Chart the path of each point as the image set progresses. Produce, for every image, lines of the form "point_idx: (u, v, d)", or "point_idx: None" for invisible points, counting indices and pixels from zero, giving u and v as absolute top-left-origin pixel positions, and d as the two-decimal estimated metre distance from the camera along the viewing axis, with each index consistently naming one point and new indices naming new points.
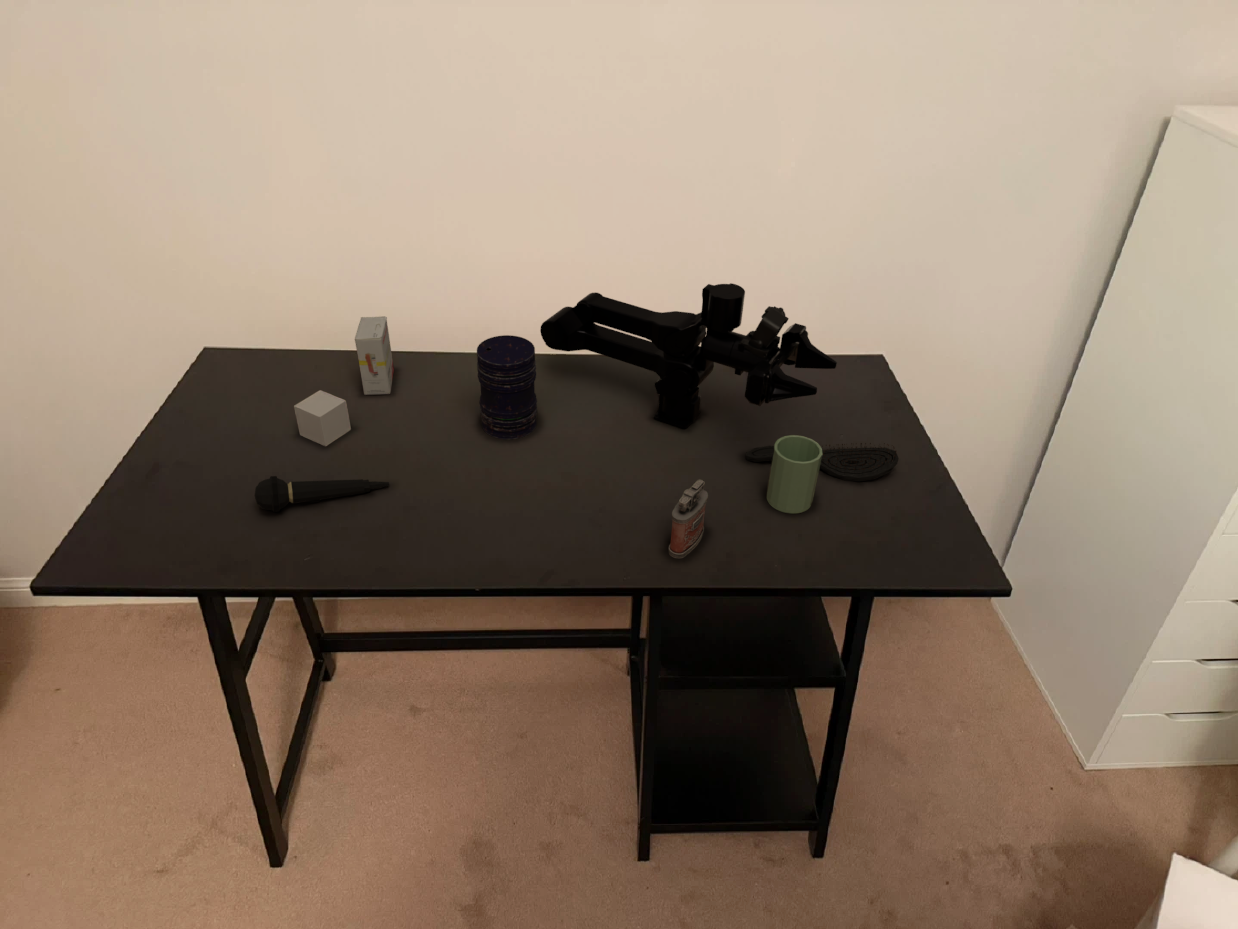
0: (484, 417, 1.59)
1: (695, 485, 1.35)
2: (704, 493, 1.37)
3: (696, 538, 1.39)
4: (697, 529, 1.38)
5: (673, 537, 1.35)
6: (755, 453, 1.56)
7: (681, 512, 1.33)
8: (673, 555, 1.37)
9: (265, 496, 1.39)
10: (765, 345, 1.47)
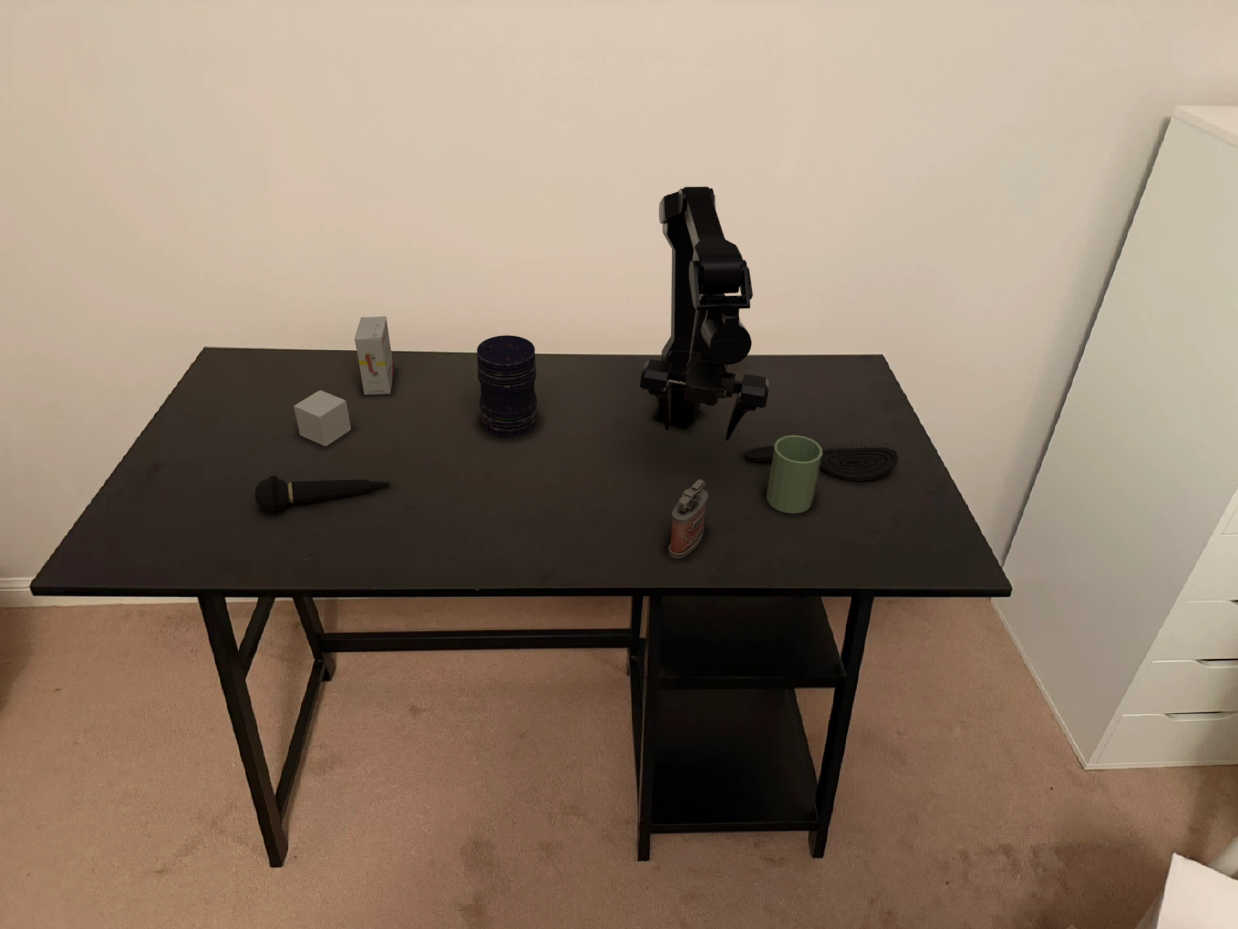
0: (484, 417, 1.59)
1: (695, 485, 1.35)
2: (704, 493, 1.37)
3: (696, 538, 1.39)
4: (697, 529, 1.38)
5: (673, 537, 1.35)
6: (755, 453, 1.56)
7: (681, 512, 1.33)
8: (673, 555, 1.37)
9: (265, 496, 1.39)
10: None
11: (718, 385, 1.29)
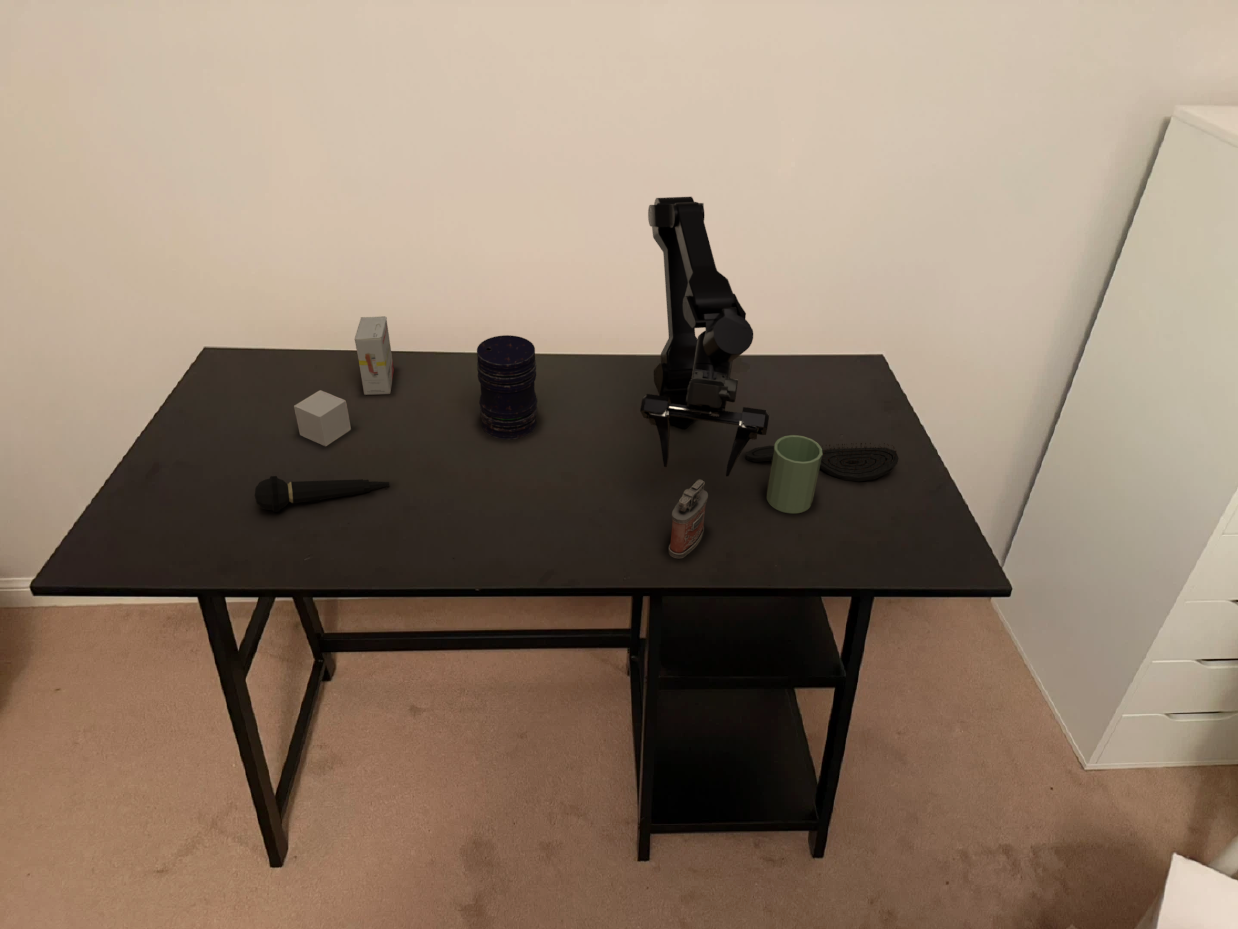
0: (484, 417, 1.59)
1: (695, 485, 1.35)
2: (704, 493, 1.37)
3: (696, 538, 1.39)
4: (697, 529, 1.38)
5: (673, 537, 1.35)
6: (755, 453, 1.56)
7: (681, 512, 1.33)
8: (673, 555, 1.37)
9: (265, 496, 1.39)
10: None
11: (721, 385, 1.30)
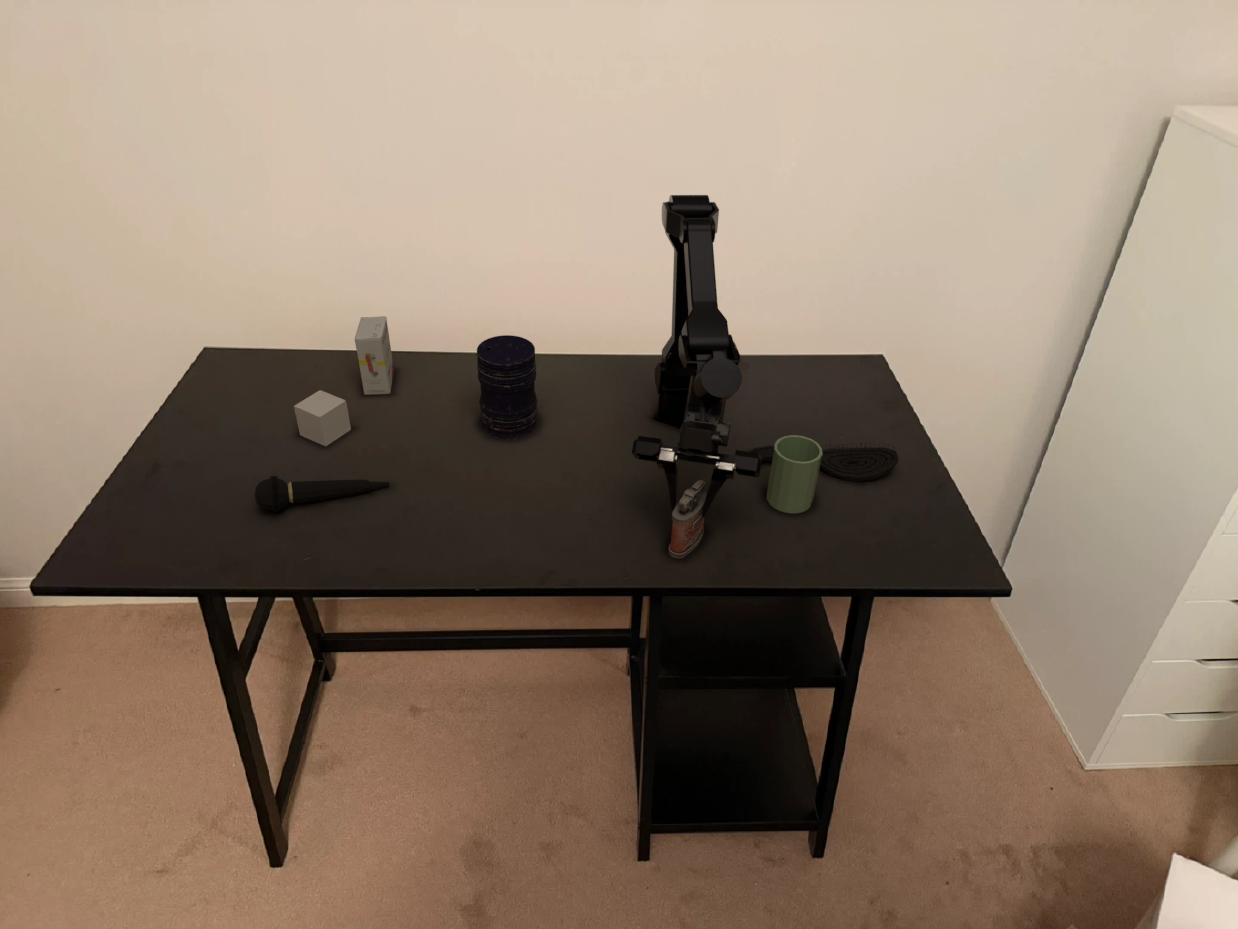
0: (484, 417, 1.59)
1: (696, 485, 1.35)
2: (704, 493, 1.37)
3: (696, 538, 1.39)
4: (697, 529, 1.38)
5: (673, 537, 1.35)
6: None
7: (681, 512, 1.33)
8: (673, 555, 1.37)
9: (265, 496, 1.39)
10: None
11: (714, 429, 1.29)
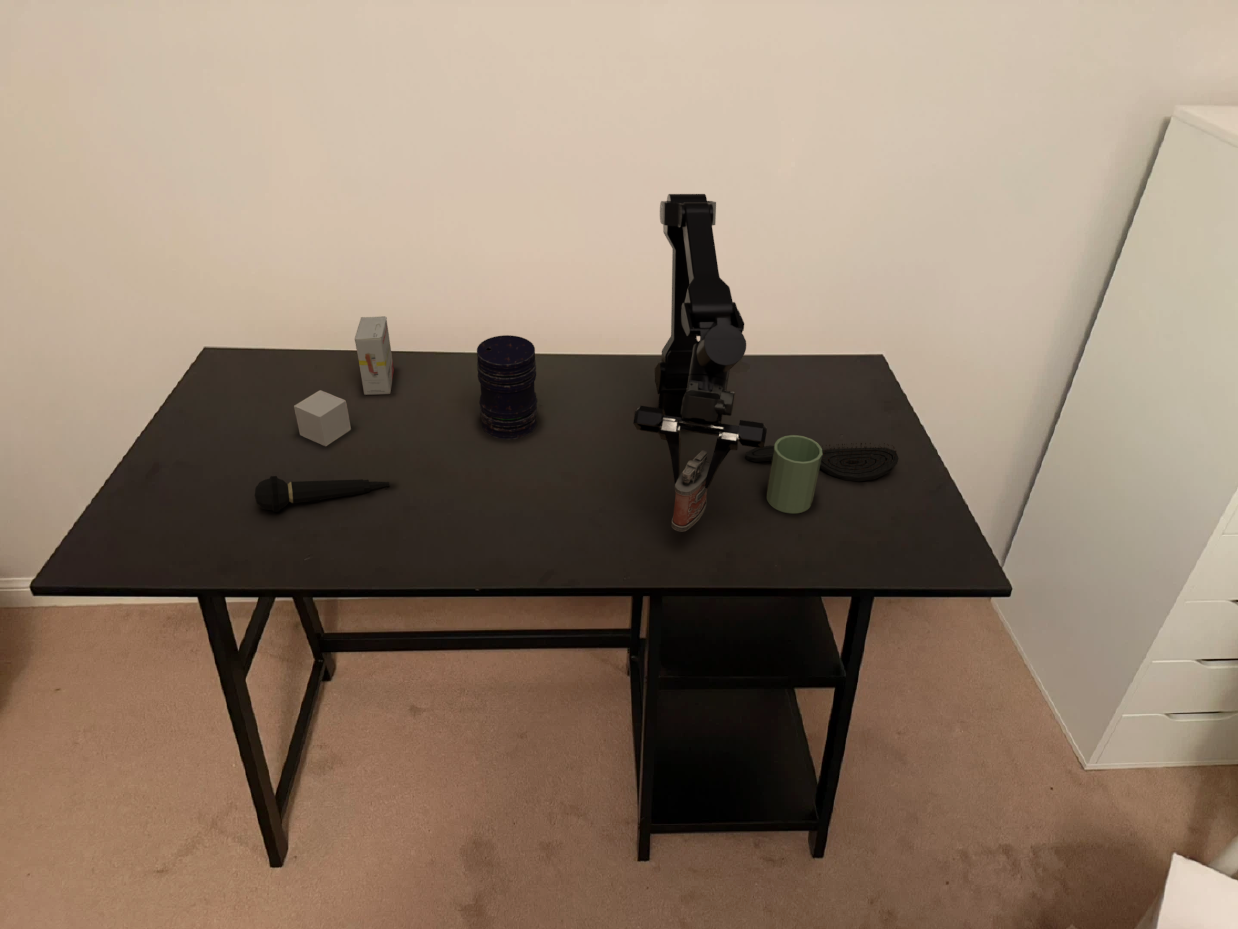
0: (484, 417, 1.59)
1: (698, 456, 1.32)
2: (707, 465, 1.34)
3: (699, 511, 1.36)
4: (700, 501, 1.35)
5: (676, 510, 1.32)
6: (755, 453, 1.56)
7: (685, 484, 1.30)
8: (676, 528, 1.34)
9: (265, 496, 1.39)
10: None
11: (717, 398, 1.25)
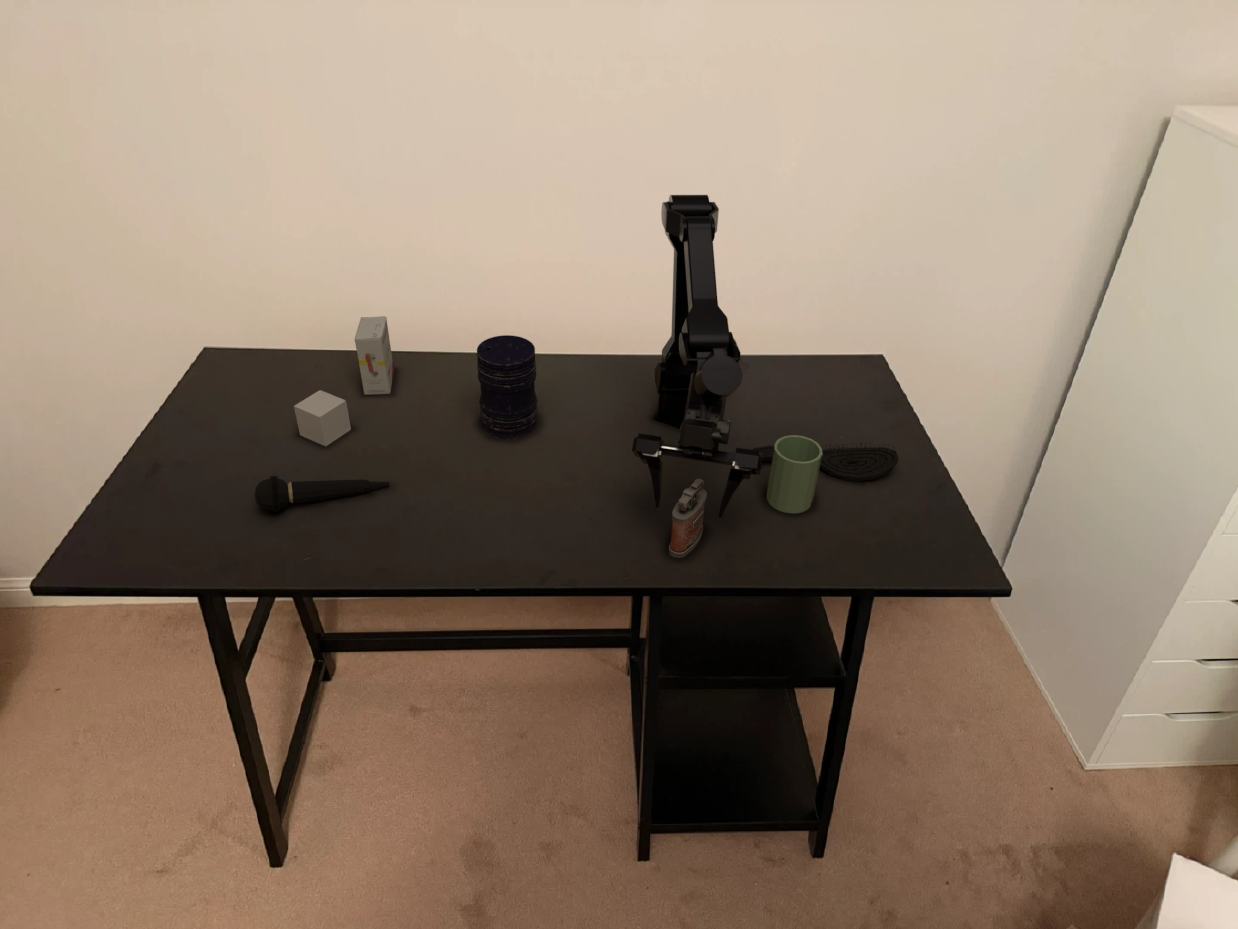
0: (484, 417, 1.59)
1: (694, 484, 1.35)
2: (703, 492, 1.38)
3: (696, 537, 1.39)
4: (697, 528, 1.38)
5: (673, 537, 1.35)
6: None
7: (681, 511, 1.33)
8: (674, 555, 1.37)
9: (265, 496, 1.39)
10: None
11: (714, 427, 1.28)
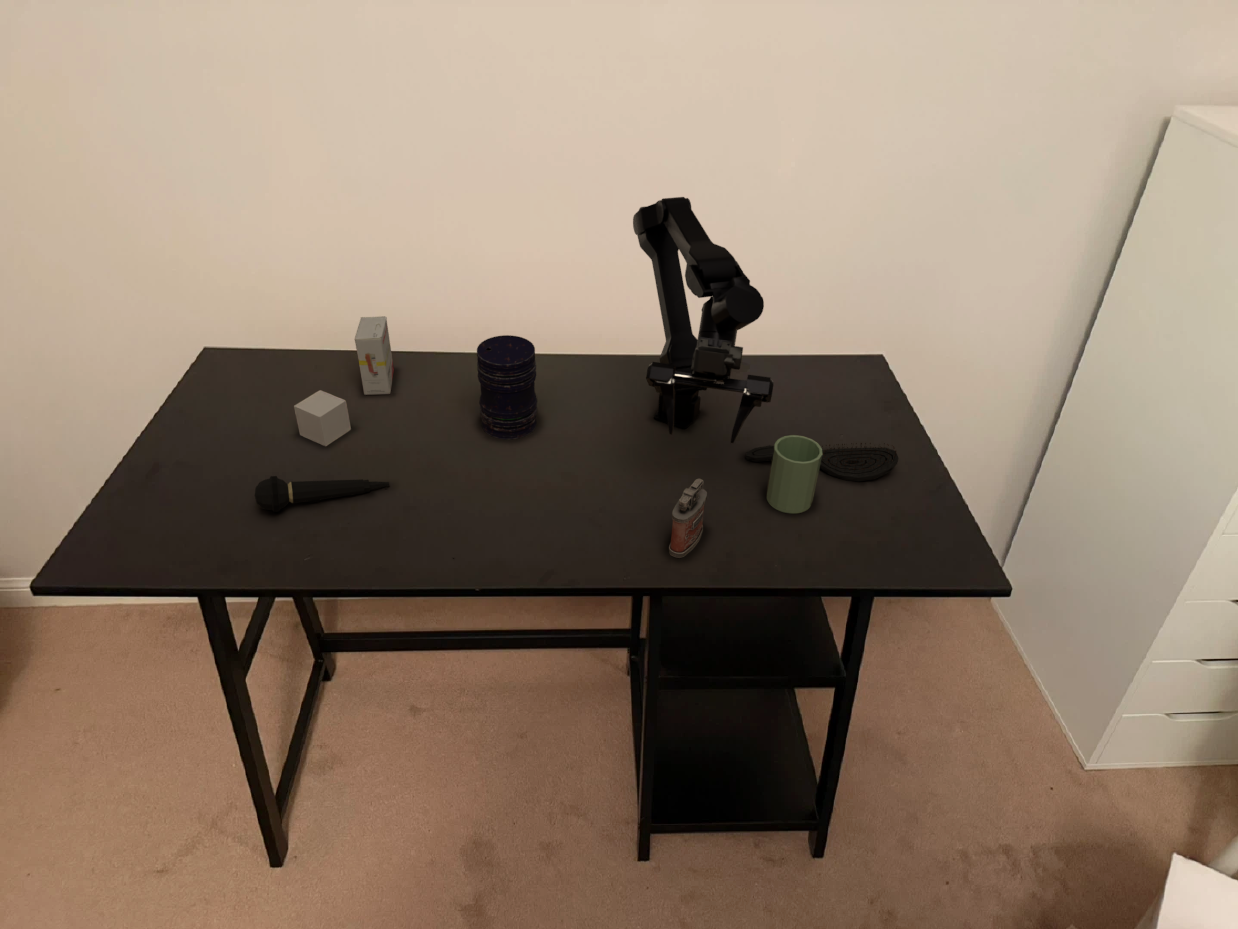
0: (484, 417, 1.59)
1: (694, 484, 1.35)
2: (703, 492, 1.38)
3: (696, 537, 1.39)
4: (697, 528, 1.38)
5: (673, 537, 1.35)
6: (755, 453, 1.56)
7: (681, 511, 1.33)
8: (674, 555, 1.37)
9: (265, 496, 1.39)
10: None
11: (727, 352, 1.32)
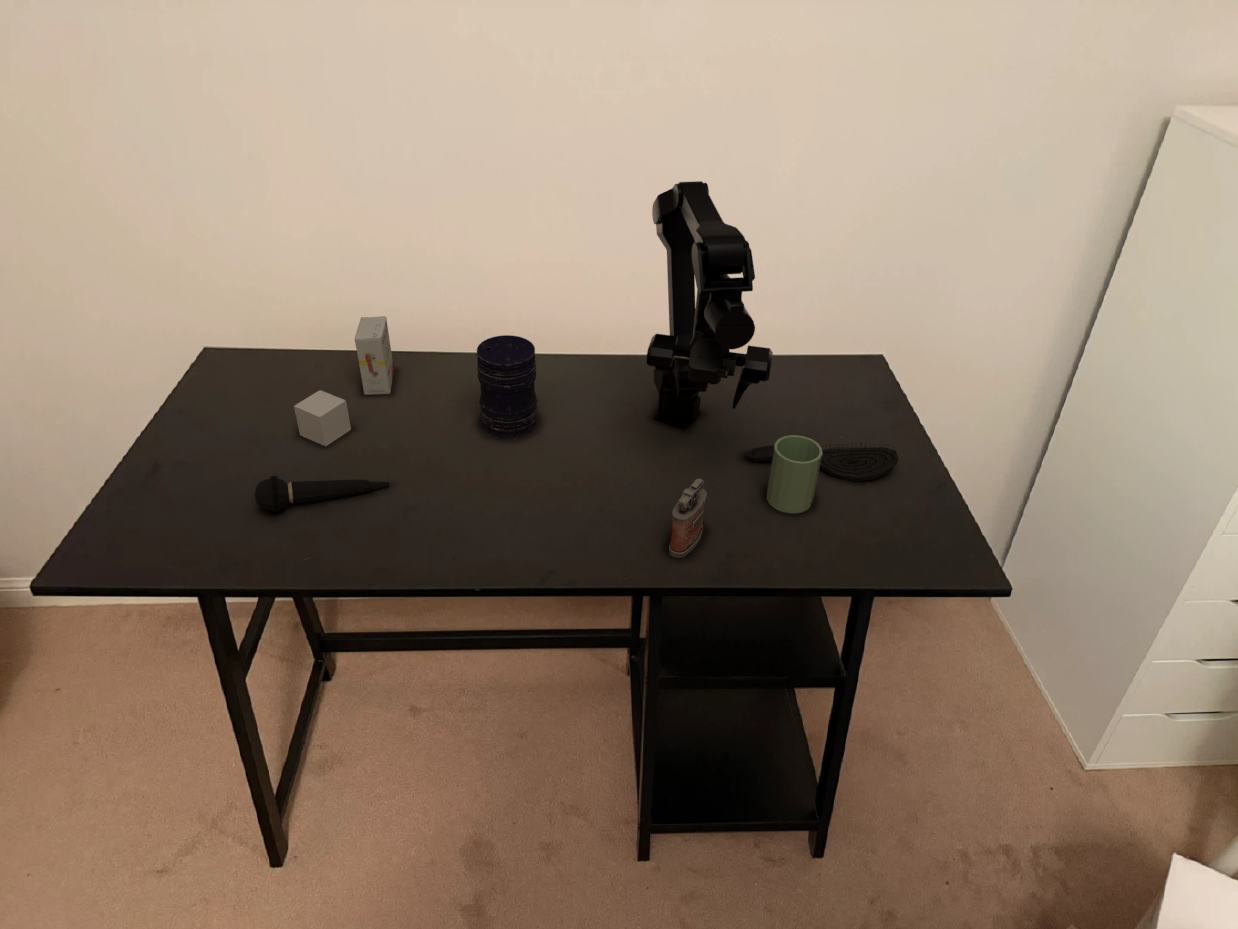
0: (484, 417, 1.59)
1: (694, 484, 1.35)
2: (703, 492, 1.38)
3: (696, 537, 1.39)
4: (697, 528, 1.38)
5: (673, 537, 1.35)
6: (755, 453, 1.56)
7: (681, 511, 1.33)
8: (674, 555, 1.37)
9: (265, 496, 1.39)
10: None
11: (720, 366, 1.34)
